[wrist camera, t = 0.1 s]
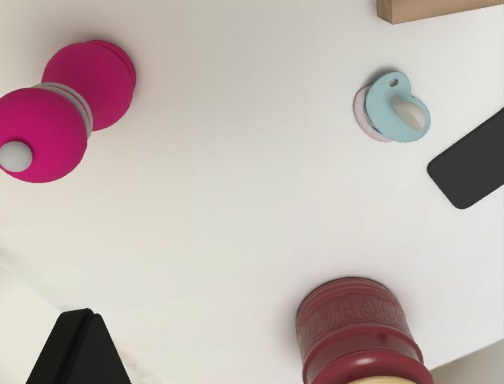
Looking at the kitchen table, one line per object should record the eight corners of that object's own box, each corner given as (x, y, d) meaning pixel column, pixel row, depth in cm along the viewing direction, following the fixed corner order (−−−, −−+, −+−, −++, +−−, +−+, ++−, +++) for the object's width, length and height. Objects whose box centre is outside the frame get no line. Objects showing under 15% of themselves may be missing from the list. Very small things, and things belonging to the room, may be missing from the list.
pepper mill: (88, 16, 42) (-25, 71, 24) (156, 69, 44) (99, 154, 26) (48, 80, 44) (-81, 171, 27) (115, 126, 47) (36, 239, 29)
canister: (307, 364, 62) (329, 505, 47) (283, 289, 56) (298, 422, 41) (406, 342, 61) (464, 481, 45) (392, 263, 55) (451, 390, 39)
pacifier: (378, 151, 49) (431, 117, 47) (394, 179, 43) (454, 142, 41) (339, 96, 46) (393, 58, 44) (350, 119, 40) (413, 76, 39)
